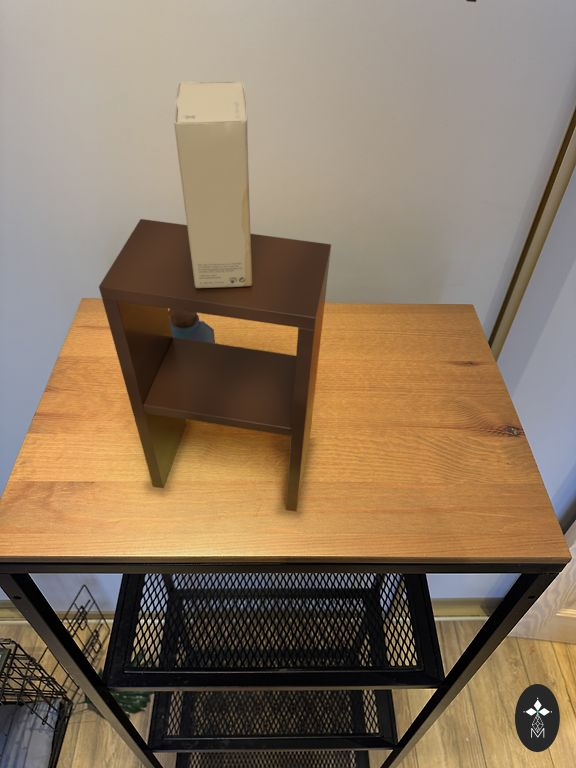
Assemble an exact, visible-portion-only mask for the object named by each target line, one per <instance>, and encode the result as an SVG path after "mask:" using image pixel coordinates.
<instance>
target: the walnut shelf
mask: <svg viewBox="0 0 576 768" xmlns="http://www.w3.org/2000/svg"><path fill="white" fill-rule="evenodd" d="M250 234H251V261H252V286H241V287H218V288H195V284H194V275H193V267H192V259H191V252H190V245H189V237H188V228H187V224H184V223H183V224H182V223H174V222H166V221H161V220H152V219H144V218H140V219H139V221H138V222H137V224H136V226H135V227H134V228H133V230H132V232H131V234H130V235H129V237H128V238H127V240H126V241H125V243H124V245H123V246H122V248H121V250H120V252H119V253H118V255H117V256H116V258H115V259H114V261H113V263H112V265H111V266H110V268H109V269H108V271H107V272H106V274H105V276H104V277H103V279H102V280H101V282H100V284H99V285H98V289H99V292H100V297H101V299H102V300H101V301H102V305H103V307H104V311H105V315H106V318H107V322H108V326H109V330H110V333H111V337H112V341H113V345H114V349H115V352H116V355H117V360H118V363H119V368H120V371H121V374H122V377H123V381H124V386H125V389H126V392H127V396H128V401H129V405H130V407H131V411H132V415H133V419H134V423H135V426H136V430H137V433H138V436H139V440H140V445H141V446H142V447H141V448H142V451H143V455H144V459H145V462H146V466H147V470H148V473H149V477H150V480H151V485H152V487H153V488H159V489H164V488H165V485H166V483H167V480H168V477H169V474H170V471H171V468H172V465H173V463H174V460H175V457H176V454H177V452H178V450H179V447H180V445H181V441H182V439H183V436H184V432H185V431H186V427H187V425H188V424H187V420H188V421H193V422H199V423H206V424H212V425H216V426H217V425H219V426H222V427H223V426H224V427H229V428H236V429H243V430H247V431H255V432H260V433H266V434H273V435H277V436H278V435H279V436H285V437H290V440H289V441H290V443H289V454H288V455H289V458H288V471H287V484H286V485H287V486H286V498H285V499H286V500H285V510H286V511H291V512H294V513H295V512H297V511H298V507H299V501H300V496H301V490H302V485H303V479H304V474H305V468H306V463H307V457H308V451H309V446H310V439H311V431H312V430H311V429H312V422H313V421H312V420H313V412H314V403H315V395H316V386H317V385H316V384H317V376H318V366H319V356H320V350H321V341H322V332H323V331H322V330H323V323H324V322H323V320H324V315H325V314H324V313H325V305H326V295H327V286H328V277H329V270H330V269H329V268H330V259H331V250H332V244H330V243H324V242H316V241H309V240H303V239H302V240H301V239H293V238H286V237H279V236H271V235H263V234H257V233H250ZM169 309H175V310H182V311H189V312H196V313H197V314H202V315H203V314H204V315H211V316H215V317H216V316H217V317H224V318H231V319H237V320H245V321H249V322H250V321H251V322H257V323H258V322H259V323H264V324H272V325H279V326H286V327H290V328H291V327H292V328H297V339H296V340H297V341H296V353H295V354H296V355H293V354H287V353H282V352H281V353H280V352H274V351H269V350H261V349H255V348H248V347H242V346H235V345H229V344H221V343H216V342H215V343H209V342H203V341H196V340H189V339H183V338H176V337H173V336H172V330H171V323H170V317H169Z"/></svg>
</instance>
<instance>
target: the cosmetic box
mask: <svg viewBox="0 0 576 768" xmlns="http://www.w3.org/2000/svg"><path fill="white" fill-rule="evenodd" d="M244 83H245V82H243V81H180V82H177V88H176V94H175V101H174V102H175V103H174V121H173V122H174V123H173V125H174V133H175V142H176V147H177V148H176V150H177V156H178V165H179V173H180V182H181V187H182V196H183V204H184V212H185V219H186V225H187V228H188V237H189V245H190V252H191V259H192V267H193V275H194V284H195V288H218V287H241V286H252V261H251V234H252V233H251V212H250V211H251V209H250V179H249V175H250V174H249V146H248V145H249V143H248V141H249V140H248V137H249V136H248V105H247V96H246V89H245V84H244Z"/></svg>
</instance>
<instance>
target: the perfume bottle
mask: <svg viewBox="0 0 576 768" xmlns="http://www.w3.org/2000/svg"><path fill="white" fill-rule="evenodd" d="M168 311H169V317H170V323H171V330H172V336H173V337H176V338H183V339H189V340H196V341H203V342H209V343H216V340H215V339H216V338H215V330H214V328H213V327H212V326H211V325H209V324H208V323H206V321H204V320H200V317H199V315H198V313H196V312H189V311H182V310H175V309H169V308H168Z"/></svg>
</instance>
